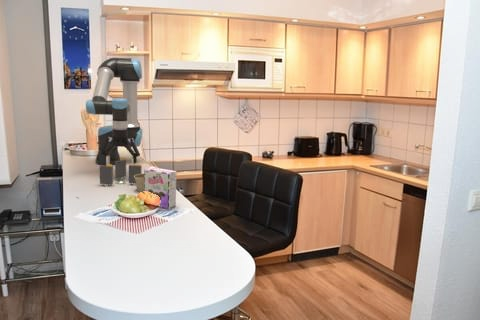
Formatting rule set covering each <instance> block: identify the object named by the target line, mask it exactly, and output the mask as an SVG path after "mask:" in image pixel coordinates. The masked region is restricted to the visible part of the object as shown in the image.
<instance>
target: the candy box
mask: <svg viewBox="0 0 480 320" xmlns="http://www.w3.org/2000/svg"><path fill="white" fill-rule="evenodd" d="M143 171H144V172H143V174H144V191H148V192H151V193H153V194H156V195H158V196H159V197H160V200H161V203H160V207H162V208H161V209H165V210H170V209H174V208H176V206H177V203H176V202H177V170H170V169H165V168H160V167H155V166H149V167H146V168H144V170H143ZM160 207H159V208H160Z"/></svg>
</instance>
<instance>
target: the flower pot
mask: <svg viewBox="0 0 480 320" xmlns="http://www.w3.org/2000/svg"><path fill="white" fill-rule="evenodd" d="M134 178H135V180H136V185H135V186H136V190H137V192H139V193H142V192H141V191H144V173H142V174H137V175H135V176H134Z"/></svg>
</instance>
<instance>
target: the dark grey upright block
mask: <svg viewBox="0 0 480 320" xmlns="http://www.w3.org/2000/svg"><path fill="white" fill-rule="evenodd" d="M99 184H100V185H104V187H110V185H114V165H109V164H107V165H100V166H99Z"/></svg>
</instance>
